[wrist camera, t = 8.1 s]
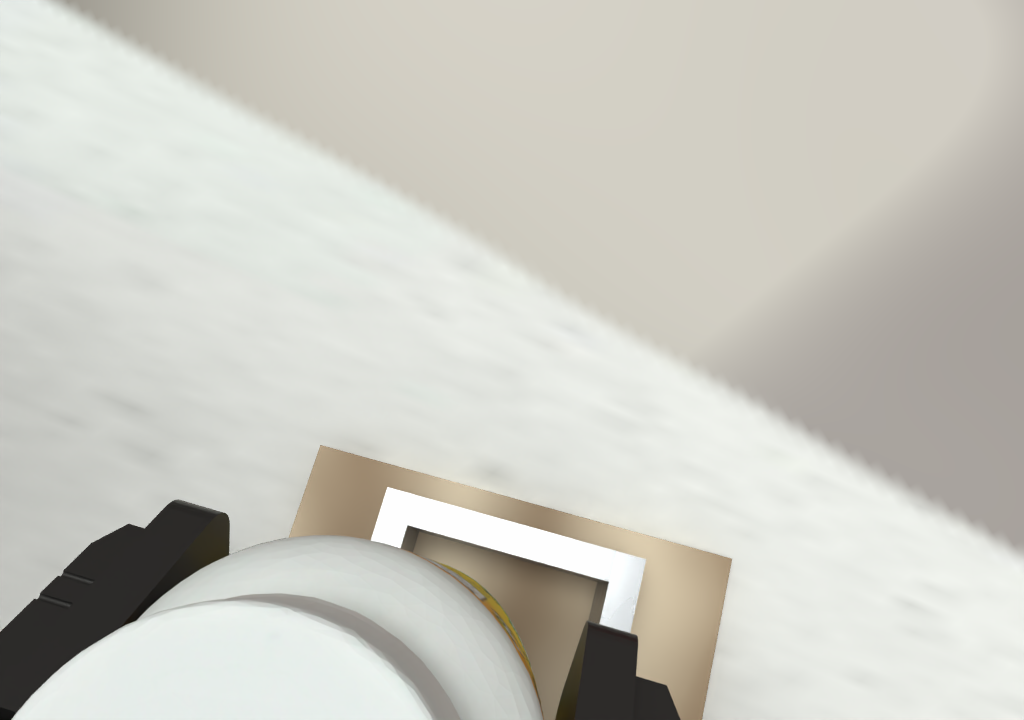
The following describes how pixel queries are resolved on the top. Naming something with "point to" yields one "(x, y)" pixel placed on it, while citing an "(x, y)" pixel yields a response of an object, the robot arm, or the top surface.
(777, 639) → the top surface
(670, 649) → the birch board
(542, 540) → the metal sleeve
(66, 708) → the supplement bottle
